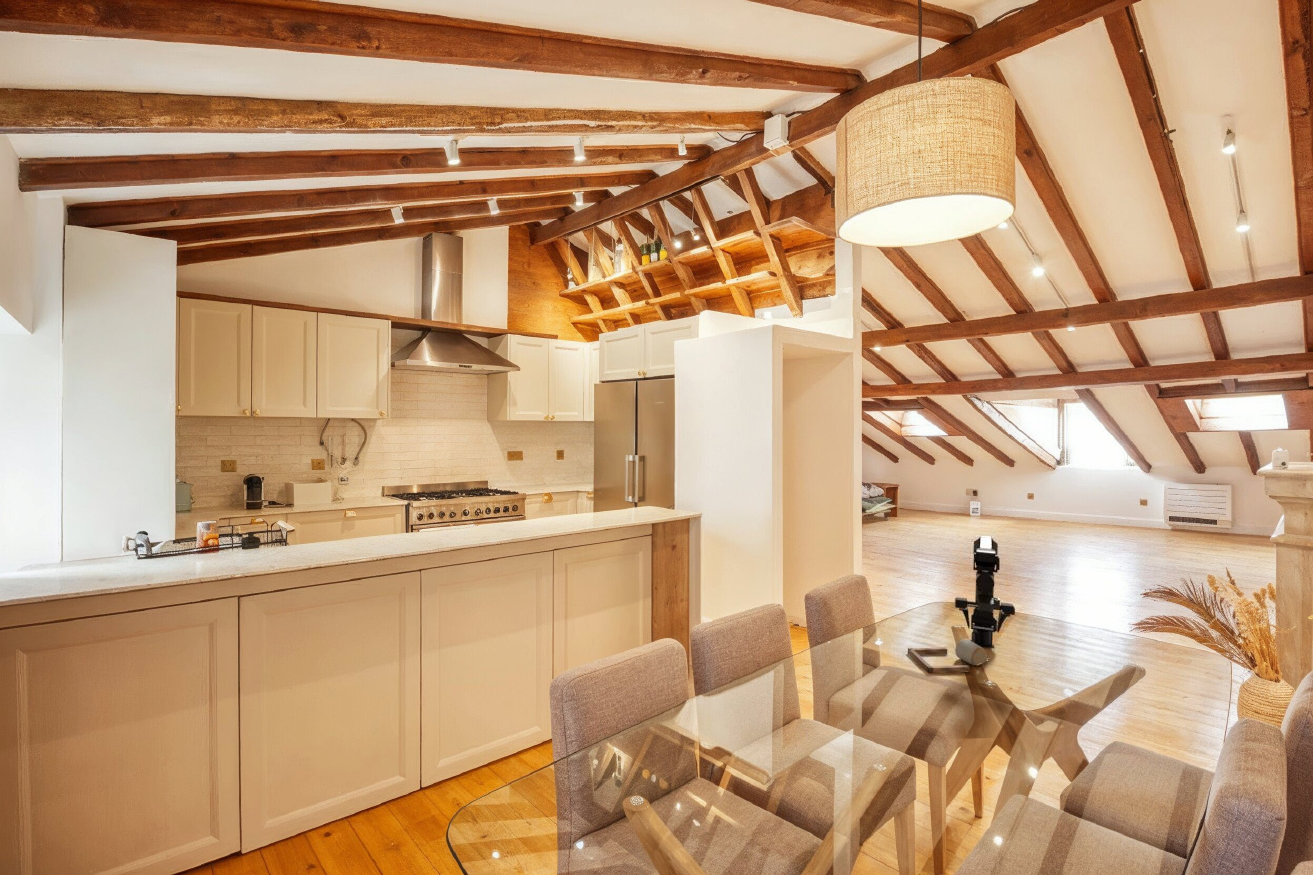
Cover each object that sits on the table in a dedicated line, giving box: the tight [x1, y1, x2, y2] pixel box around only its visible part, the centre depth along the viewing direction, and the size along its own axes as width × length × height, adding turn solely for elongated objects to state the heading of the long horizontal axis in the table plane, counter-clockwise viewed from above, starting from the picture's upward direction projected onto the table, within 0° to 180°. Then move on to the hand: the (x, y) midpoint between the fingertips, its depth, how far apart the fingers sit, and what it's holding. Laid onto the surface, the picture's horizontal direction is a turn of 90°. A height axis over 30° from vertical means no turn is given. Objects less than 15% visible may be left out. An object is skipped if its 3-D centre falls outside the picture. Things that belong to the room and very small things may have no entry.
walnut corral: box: [907, 646, 970, 675], centre depth 231 cm, size 14×17×2 cm
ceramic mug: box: [954, 638, 989, 666], centre depth 231 cm, size 11×8×8 cm
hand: (983, 630), depth 224 cm, fingers open, 9 cm apart
